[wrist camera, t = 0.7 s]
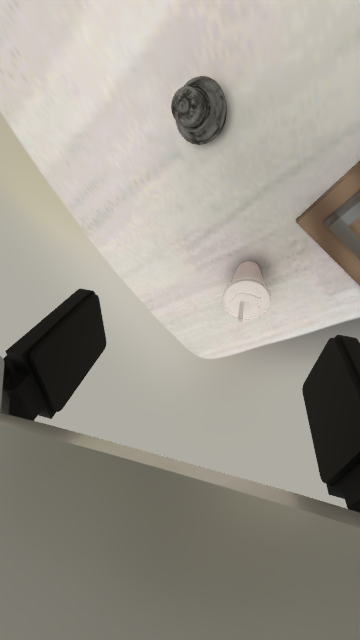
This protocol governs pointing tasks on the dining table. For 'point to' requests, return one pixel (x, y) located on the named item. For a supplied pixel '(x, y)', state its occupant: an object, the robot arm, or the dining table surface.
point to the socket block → (338, 222)
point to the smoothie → (247, 293)
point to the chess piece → (199, 110)
